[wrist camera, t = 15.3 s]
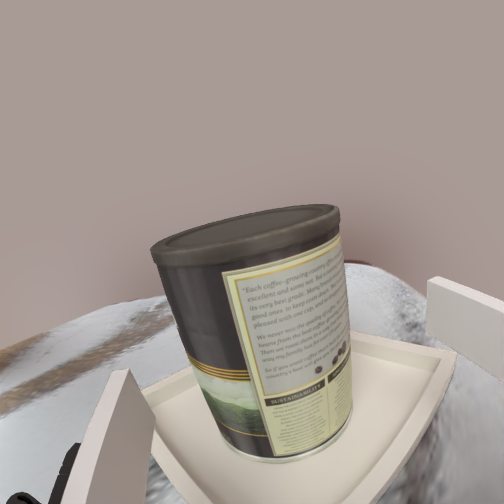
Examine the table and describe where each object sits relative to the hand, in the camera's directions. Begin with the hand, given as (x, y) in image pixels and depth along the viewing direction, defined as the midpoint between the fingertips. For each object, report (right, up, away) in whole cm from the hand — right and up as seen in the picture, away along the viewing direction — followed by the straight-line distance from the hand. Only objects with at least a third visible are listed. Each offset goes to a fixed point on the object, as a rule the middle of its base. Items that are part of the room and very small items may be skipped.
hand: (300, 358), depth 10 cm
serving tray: (+1, -9, +8) cm, 12 cm away
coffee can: (+1, -8, +8) cm, 11 cm away
